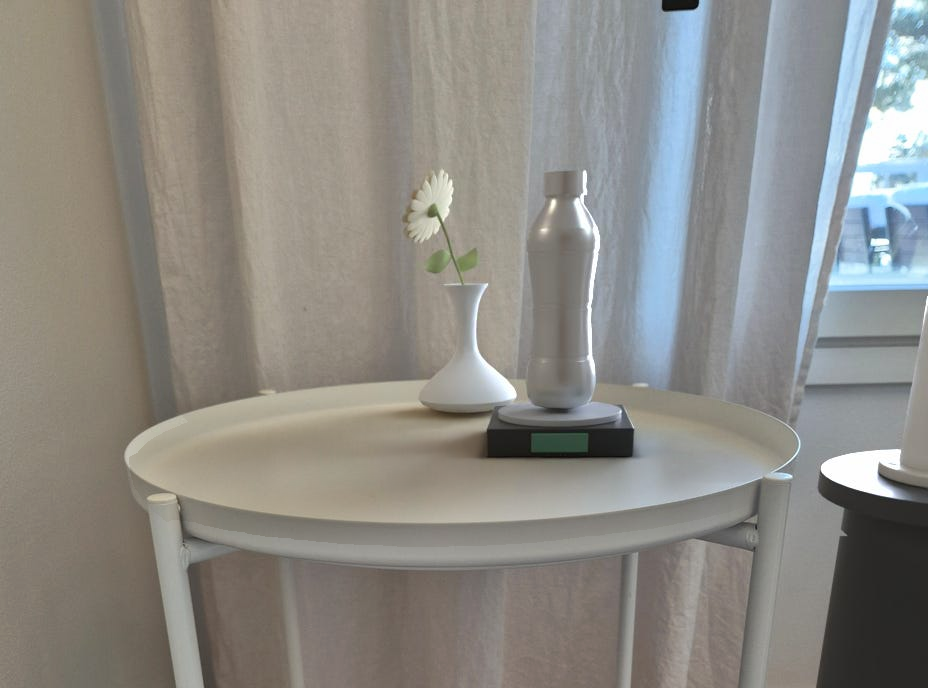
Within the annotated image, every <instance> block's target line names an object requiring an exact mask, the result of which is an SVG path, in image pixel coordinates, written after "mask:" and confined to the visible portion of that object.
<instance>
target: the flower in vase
mask: <svg viewBox="0 0 928 688" xmlns="http://www.w3.org/2000/svg"><path fill="white" fill-rule="evenodd" d="M454 190H455V189H454V186H453V179H452V178H450V179H449V174H448V173H447V172H445V170H444V169H443V168H440V169H439V170H438V172H437V175H436V174H435V171H434V170H430V171H429V172H428V174H427V175H426V176H424V177H423V178H422V182H421V184H420V189H417V188H415V189H412V191H411V193H410V199H411V200H410V202H409V203H408V204H407V205H406V207H405V213H404V214H402V218H401V222H402V223H403V224H406V225H405V226H404V228H403V230H402V234H403V235H404V236H405V238H406V239H412V244H413V245H416V244H419V245H420V244H422V243H423V242H424V241H428V240H429V239H430V238H431V236H432V235H433V236H435V235H437V233H438V232H439V230H440V227H441V229H442V232H443V234H444V236H445V239H446V242H447V247H448V249H449V252H448V251H447V250H446V249H440V250H436V251H435V252H434V253H433V254H432V255H431V256H429V257H428V259H426V262H425V263H424V267H423V269H424V270H425V271H426V272H428V273H431V274H435V275H437V274H440V273H442V272H443V271H444V270H445V269H446V267H447V266H448V265H449V264H450V262H451V260H452V262H453V264H454V267H455V269H456V272H457V275H458V277H459V280H460V283H445V284H442V287H443V288H444V289H445V291H446V293H447V294H448V296H449V299H450V301H451V304H452V309H453V313H454V319H455V329H456V331H455V332H456V344H455V350H454V353H453V355H452V357H451V358H450V360H449V361H448V362H447V363H446V364H445V365H444V366H443V367H441V368H440V370H438V372H436V373H435V374H434V375H433V376H432V377H431V378H430V379H429V380H428V381H427V382H426V383H425V385H424V386H423V387H422V388H421V389H420V391H419V394H418V400H419V402H420V403H421V404H422V405H423V406H425V407H427V408H429V409H432V410H434V411H440V412H445V413H454V414H474V413H485V412H491V411H494V408H495V406H508V405H512V404H513V403H514V401H515V400H516V398H517V397H518V396H517V392H516V389H515V387H514V386H513V385H512V384H511V383H510V381H509V380H507V378H506V377H504V375H502V374H501V373H500V372H498V371H497V370H496V369H495V368H494V367H493V366H491V365H490V364H489V363H488V362H487V361H486V360H485V359H484V358H483V356H482V355H481V353H480V351H479V348H478V341H477V321H478V320H477V319H478V311H479V305H480V302H481V299H482V296H483V294H484V292H485V290H486V289H487V287H488V286H489V283H488V282H465V280H464V277H463V272H467V271H469V270H471V269H474V268H477V267H478V265H479V264H480V258H479V253H478V249H477V247H473V248H472V249H471V250H470V251H468V252H467V253H464V254H463V255H461V256H459V257H458V258H456V255H455V252H454V250H453V246H452V242H451V239H450V235H449V233H448V231H447V228H446V225H445V219H446V218H447V217H448V216H449V214H450V208H449V207H450V206H451V204H452V201H453V196H452V195H453V194H454Z"/></svg>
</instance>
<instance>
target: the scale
mask: <svg viewBox="0 0 928 688" xmlns="http://www.w3.org/2000/svg"><path fill="white" fill-rule="evenodd" d="M492 411H493V412H492V413H491V417H490V420H489V422H488V425H487V429H486V457H487V458H515V457H516V458H530V457H531V458H534V457H535V458H537V457H543V458H544V457H545V458H549V457H550V458H552V457H554V458H557V457H559V458H560V457H562V458H563V457H564V458H567V457H569V458H570V457H571V458H573V457H574V458H576V457H579V458H580V457H581V458H582V457H583V458H585V457H586V458H587V457H590V458H591V457H634V440H635V439H634V438H635V428H634V426H633V423H632V421H631V418H630V417H629V414H628V412H627V410H626V408H625V406H624V404H611V403H607V402H606V403H605V402H599V401H591V400H590V401H589V403H588V404H587V405H585V406H581V407H577V408H573V409H569V410H565V411H554V410H551V409H547V408H543V407H539V406H535V405H533V404H532V403H531V401H525V402H518V403H511V404H509V405H507V406H495V408H494V410H492Z"/></svg>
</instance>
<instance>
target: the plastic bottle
mask: <svg viewBox="0 0 928 688" xmlns="http://www.w3.org/2000/svg"><path fill="white" fill-rule="evenodd" d="M543 174H544V175H543V189H542V191H541V197H544V198H545V202H544V205H543V207H542V208H541V209H540V211H539V213H538V214H537V215H536V217H535V219H534V221H533V223H532V225H531V226H530V228H529V230H528V234H527V238H526V251H527V254H528V255H527V260H528V261H527V262H528V268H529V275H530V276H529V277H530V284H531V303H532V323H531V324H532V325H531V339H530V349H529V355H530V356H529V358H528V361H527V366H526V374H525V387H526V388H525V389H526V394H527V398H528V400H529V402H531V403H532V404H533V405H535V406H539V407H543V408H547V409H551V410H554V411H565V410H569V409H573V408H577V407H581V406H585V405H587V404H588V403H589V401H591V400H592V399H593V397H594V394H595V393H594V392H595V389H596V388H595V387H596V382H597V379H596V367H595V361H594V357H593V345H592V322H591V321H592V320H591V319H592V318H591V317H592V307H591V305H592V302H593V292H594V282H595V281H594V280H595V275H596V270H597V262H598V256H599V253H598V252H599V250H600V240H601V238H600V234H599V230H598V229H599V228H598V226H597V225H596V222H595V220H594V218H593V216H592V214H591V213H590V212H589V209H588V208H587V206H585V204H584V196H587V195H588V189H587V171H586V170H557V171H548V172H544V173H543Z"/></svg>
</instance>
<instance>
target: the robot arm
mask: <svg viewBox="0 0 928 688" xmlns="http://www.w3.org/2000/svg"><path fill="white" fill-rule="evenodd" d="M699 6H700V0H661V11H662V12H663V13H673V12H674V13H675V12H677V13H678V12H692V11H696V10H697V9H698V7H699ZM923 315H924V316H923V321H922V326H921V332H920V336H919V337H920V338H919V342H918V349H917V353H916V359H915V364H914V371H913V377H912V382H911V388H910V394H909V399H908V404H907V410H906V416H905V421H904V426H903V432H902V438H901V443H900V448H899V450H900V451H896V452H892V453H888V454H885V455H883V456H882V457H881V458H879V462H878V467H877V470H878V472H879V473H880V474H881V475H882V476H884V477H886V478H888V479H890V480H893V481H896V482H899V483H903V484H907V485H911V486H916V487H921V488H927V489H928V297H926V304H925V309H924V314H923Z"/></svg>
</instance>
